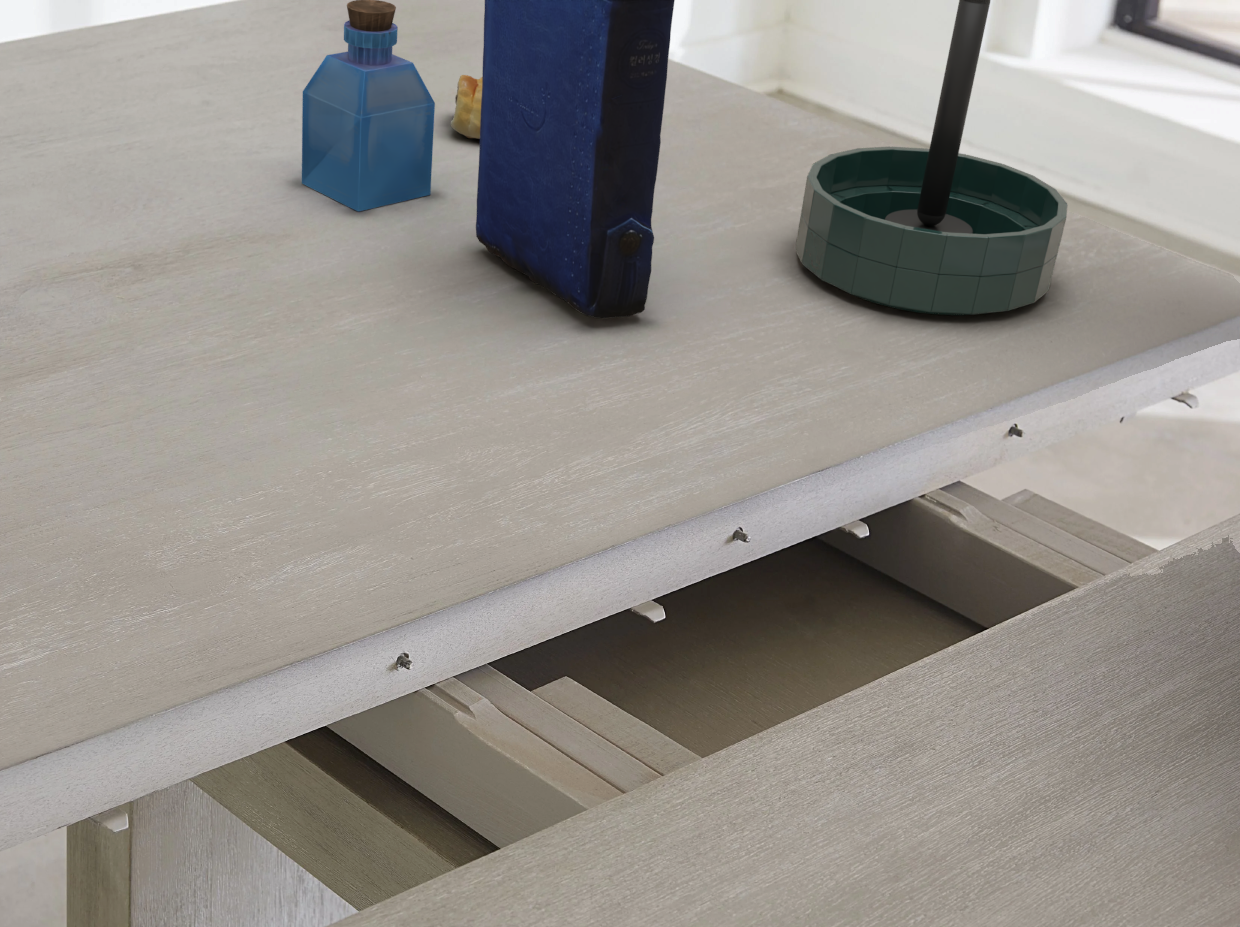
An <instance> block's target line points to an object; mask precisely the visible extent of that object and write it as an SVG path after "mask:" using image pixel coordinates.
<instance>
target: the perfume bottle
mask: <svg viewBox="0 0 1240 927" xmlns="http://www.w3.org/2000/svg"><path fill="white" fill-rule="evenodd" d="M346 8H347V14H348V20H347V21H345V22H344V23H343V41H344V42H345V43H347V51H342V52H337V53H332V54H327V55H326V56H325V57H324V58H323V60H322V61H321V63H320V65H319V66H318V68H317V69H316V70H315V72H314V74H313V75H312V76H311V78H310V80H309V81H308V82H307V84H306V85H305V87H304V89H303V90H302V105H301V106H302V111H301V112H302V113H301V117H302V119H301V122H302V123H301V184H302V185H304V186H305V187H308V188H310V189H312V190H314V191H316V192H318V193H320V194H322V195H324V196H326V197H328V198H330V199H332V200H334V201H336V202H338V203H341V204H342V205H344V206H345V207H348V208H350V209H352V210H354V211H356V212H359V213H360V212H363V211H367V210H371V209H372V210H373V209H376V208H381V207H384V206H388V205H393V204H397V203H401V202H405V201H409V200H414V199H419V198H423V197H427V196H431V191H432V173H433V172H432V171H433V170H432V169H433V151H434V150H433V149H434V131H435V130H434V128H435V110H436V102H435V101H434V99H433V97H432V95H431V93H430V91H429V89H428V87H427V86H426V84H425V81H424V80H423V78H422V76H421V75H420V73H419V71H418V69H417V67H416V66H415V65H416V64H414V62H413V61H410V60H407V59H405V58H403V57H400V56H398V55H395V54H393V47H394V46H395V45H397V43H398V25H397V24H395V22H393V21H394V17H395V13H396V9H397V7H396V5H395V4H393V3H391V2H387V1H383V0H352V1H349V2H347V3H346Z"/></svg>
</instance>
